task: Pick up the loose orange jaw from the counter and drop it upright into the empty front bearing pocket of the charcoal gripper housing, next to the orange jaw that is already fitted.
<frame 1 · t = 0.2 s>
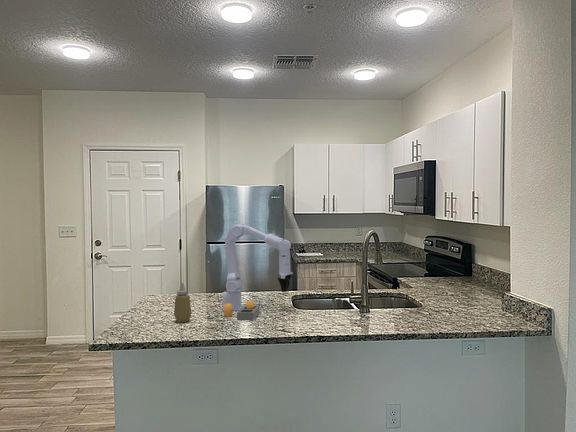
hand: (285, 290, 233), 10 cm above the counter, fingers open, 7 cm apart
squeeze bottle: (183, 321, 214), on the counter
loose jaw: (228, 316, 222), on the counter
housing: (248, 316, 221), on the counter
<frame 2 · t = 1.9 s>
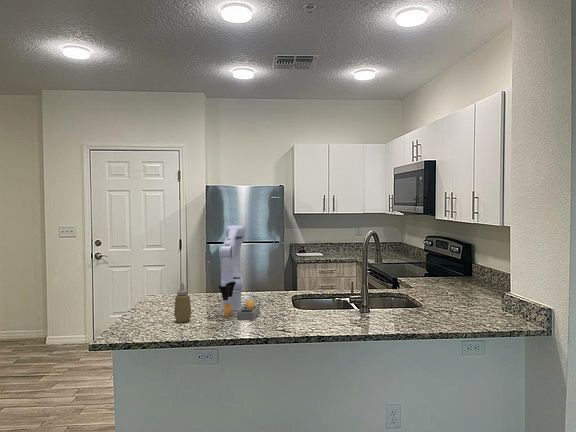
hand: (227, 298, 221), 9 cm above the counter, fingers open, 7 cm apart
nothing on the counter moved.
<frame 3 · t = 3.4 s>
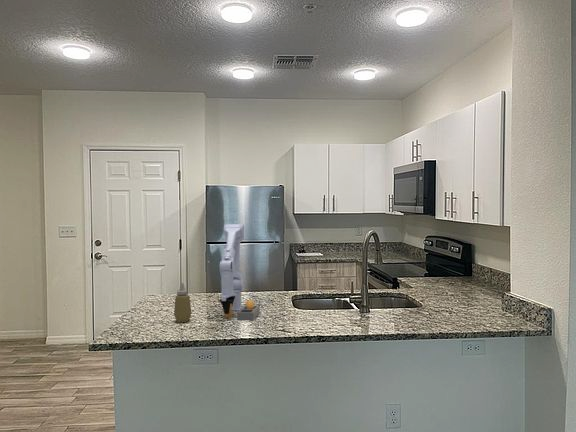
hand: (228, 312, 222), 2 cm above the counter, fingers closed on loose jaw, 4 cm apart
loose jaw: (228, 316, 222), on the counter, touching gripper
everything else where it was.
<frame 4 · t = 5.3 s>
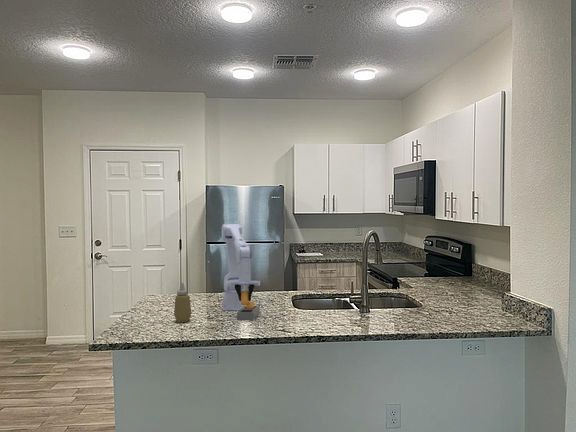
hand: (245, 300, 218), 8 cm above the counter, fingers closed on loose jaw, 4 cm apart
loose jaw: (245, 304, 218), point 7 cm above the counter, touching gripper
everything else where it was.
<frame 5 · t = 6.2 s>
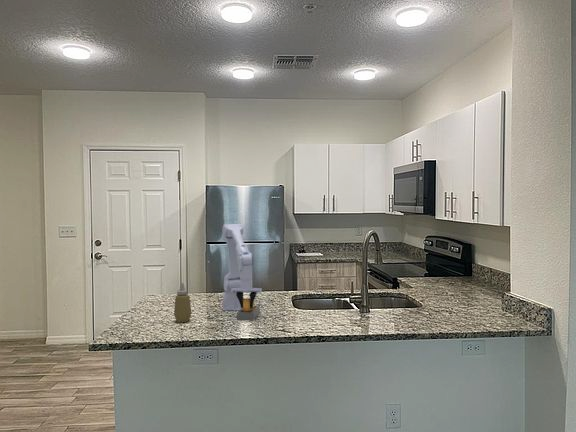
hand: (246, 307, 218), 5 cm above the counter, fingers closed on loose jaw, 4 cm apart
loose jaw: (246, 311, 218), point 3 cm above the counter, touching gripper
everything else where it was.
when the fingers open (5 cm above the counter, at t = 7.0 s): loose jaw drops 2 cm, resting on housing.
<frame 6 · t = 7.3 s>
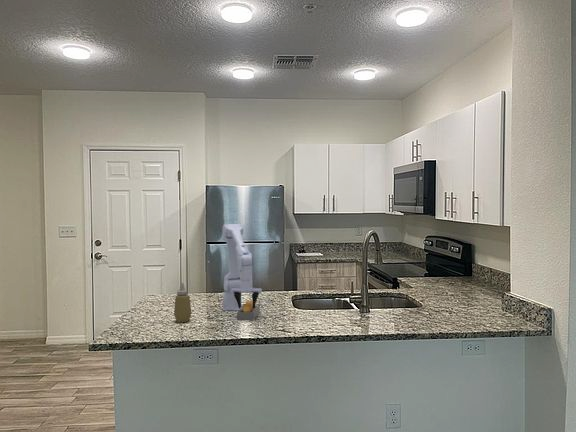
hand: (246, 308, 218), 5 cm above the counter, fingers open, 6 cm apart
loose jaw: (247, 317, 218), point 1 cm above the counter, touching housing
everything else where it was.
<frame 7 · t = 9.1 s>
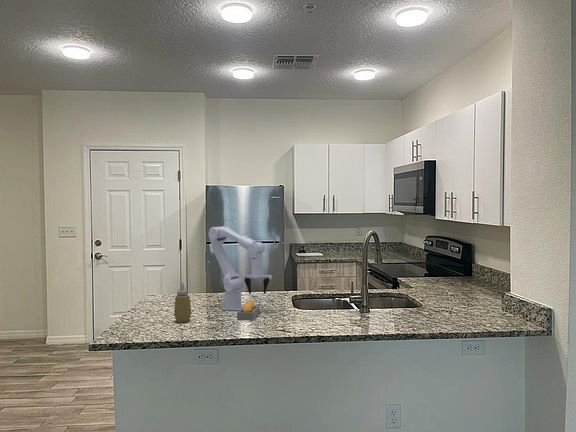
hand: (257, 293, 230), 9 cm above the counter, fingers open, 7 cm apart
nothing on the counter moved.
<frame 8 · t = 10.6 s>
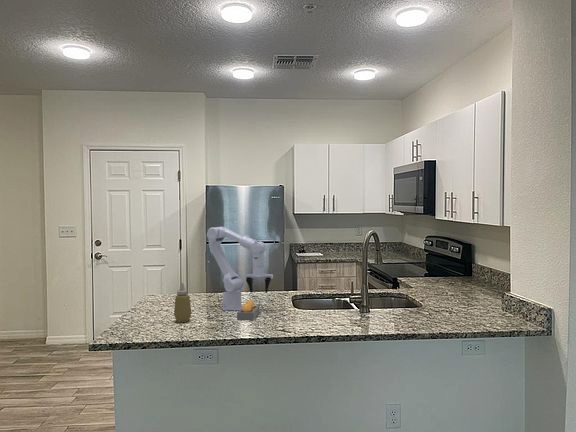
hand: (259, 292, 231), 9 cm above the counter, fingers open, 7 cm apart
nothing on the counter moved.
at the end: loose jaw 0.1 cm from the target spot on the housing, point 0.5 cm above the housing's base; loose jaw tilted 1°; the gripper is holding nothing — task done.
